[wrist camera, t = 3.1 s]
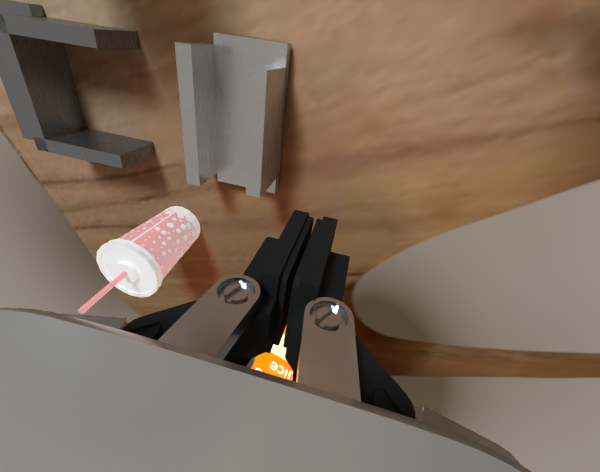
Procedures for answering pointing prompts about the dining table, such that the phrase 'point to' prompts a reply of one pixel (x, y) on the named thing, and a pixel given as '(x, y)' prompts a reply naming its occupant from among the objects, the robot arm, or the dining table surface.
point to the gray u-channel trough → (233, 110)
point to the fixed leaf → (58, 84)
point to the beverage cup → (146, 253)
